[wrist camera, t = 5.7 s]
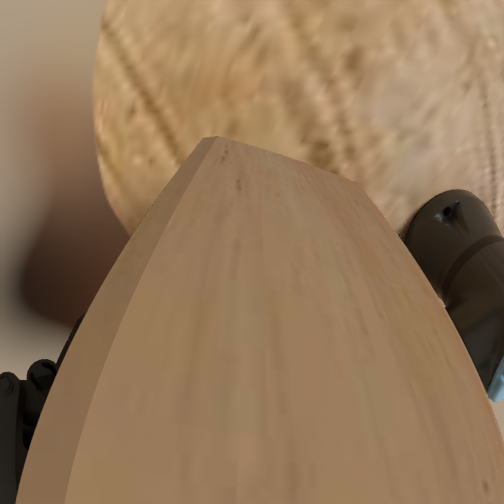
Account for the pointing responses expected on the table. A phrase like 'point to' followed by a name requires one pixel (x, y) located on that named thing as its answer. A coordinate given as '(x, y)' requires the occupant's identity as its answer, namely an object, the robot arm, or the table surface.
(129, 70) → the table surface
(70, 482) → the block
